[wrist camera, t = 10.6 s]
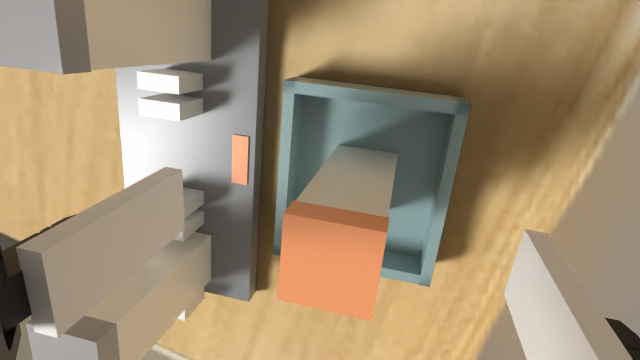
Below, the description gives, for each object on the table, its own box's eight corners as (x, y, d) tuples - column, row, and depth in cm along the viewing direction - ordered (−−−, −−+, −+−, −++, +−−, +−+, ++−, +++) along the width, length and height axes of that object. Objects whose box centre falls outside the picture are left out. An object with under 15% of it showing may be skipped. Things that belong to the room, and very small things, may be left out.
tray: (297, 76, 22) (284, 80, 20) (465, 97, 21) (471, 103, 18) (285, 235, 26) (272, 254, 24) (428, 263, 24) (429, 286, 22)
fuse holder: (121, -45, 22) (68, -61, 19) (270, -34, 21) (242, -49, 17) (142, 272, 30) (107, 301, 26) (255, 297, 28) (232, 333, 25)
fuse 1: (152, -13, 21) (-50, -57, 12) (212, -8, 21) (47, -50, 11) (155, 54, 23) (-27, 61, 13) (212, 61, 22) (62, 73, 13)
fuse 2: (163, 224, 26) (25, 323, 17) (211, 234, 26) (96, 342, 16) (165, 269, 28) (38, 384, 18) (211, 280, 27) (104, 404, 18)
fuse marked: (337, 143, 23) (283, 213, 13) (399, 152, 22) (387, 232, 13) (331, 199, 24) (277, 299, 14) (389, 210, 23) (371, 321, 14)
